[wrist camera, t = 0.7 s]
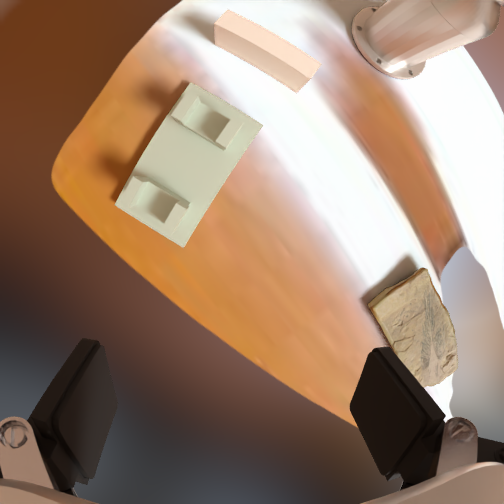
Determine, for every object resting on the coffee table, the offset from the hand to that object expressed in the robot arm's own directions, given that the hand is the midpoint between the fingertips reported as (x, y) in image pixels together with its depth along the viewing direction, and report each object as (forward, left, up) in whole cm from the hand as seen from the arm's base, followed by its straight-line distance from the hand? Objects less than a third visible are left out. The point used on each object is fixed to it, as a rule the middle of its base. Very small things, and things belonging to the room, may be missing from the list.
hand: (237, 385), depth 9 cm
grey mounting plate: (-4, -8, -27) cm, 28 cm away
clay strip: (-20, -8, -27) cm, 35 cm away
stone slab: (-2, +39, -27) cm, 47 cm away
